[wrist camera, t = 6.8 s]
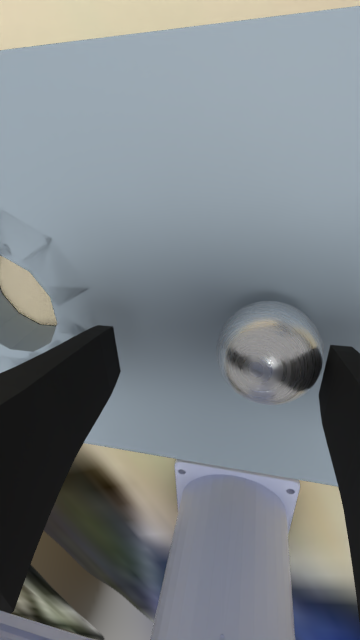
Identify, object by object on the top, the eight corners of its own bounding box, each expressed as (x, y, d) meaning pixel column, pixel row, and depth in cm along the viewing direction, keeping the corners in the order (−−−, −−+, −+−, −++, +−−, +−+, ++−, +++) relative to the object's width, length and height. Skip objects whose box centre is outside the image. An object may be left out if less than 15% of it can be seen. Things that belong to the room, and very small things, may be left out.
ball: (309, 394, 12) (298, 444, 9) (225, 362, 13) (191, 397, 10) (340, 309, 11) (339, 333, 8) (245, 283, 12) (213, 296, 9)
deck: (534, 13, 8) (625, -28, 6) (365, 450, 17) (379, 493, 15) (-174, 89, 14) (-252, 81, 12) (-26, 393, 23) (-55, 419, 21)
